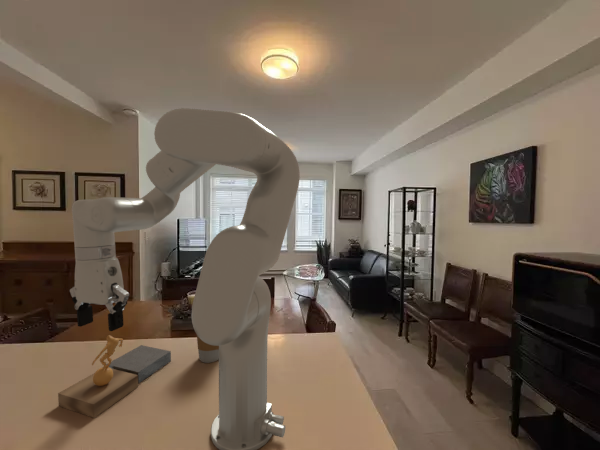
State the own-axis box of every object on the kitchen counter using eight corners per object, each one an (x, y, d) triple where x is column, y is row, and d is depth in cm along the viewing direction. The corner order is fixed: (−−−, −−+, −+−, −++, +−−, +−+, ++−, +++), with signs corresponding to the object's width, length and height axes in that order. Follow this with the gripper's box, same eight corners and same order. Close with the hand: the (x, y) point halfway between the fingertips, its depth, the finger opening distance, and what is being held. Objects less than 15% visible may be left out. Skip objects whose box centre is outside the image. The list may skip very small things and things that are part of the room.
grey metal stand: (170, 361, 82) (170, 351, 82) (138, 383, 72) (138, 372, 71) (141, 354, 85) (141, 345, 85) (106, 375, 75) (106, 364, 75)
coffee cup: (219, 365, 80) (219, 313, 79) (190, 364, 80) (189, 313, 79) (227, 350, 88) (227, 303, 87) (201, 350, 89) (201, 303, 88)
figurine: (109, 373, 71) (108, 326, 70) (131, 375, 70) (130, 328, 69) (80, 395, 62) (78, 342, 62) (104, 397, 62) (102, 344, 61)
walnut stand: (138, 386, 70) (138, 375, 70) (94, 417, 60) (93, 404, 60) (105, 378, 74) (105, 366, 73) (58, 406, 63) (58, 393, 63)
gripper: (139, 252, 65) (143, 324, 66) (85, 250, 71) (90, 317, 72) (108, 257, 58) (113, 338, 59) (51, 255, 64) (57, 329, 65)
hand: (100, 326), depth 65 cm, fingers open, 9 cm apart
